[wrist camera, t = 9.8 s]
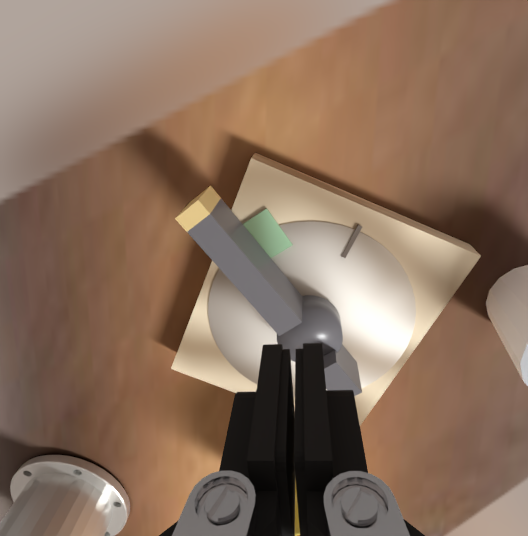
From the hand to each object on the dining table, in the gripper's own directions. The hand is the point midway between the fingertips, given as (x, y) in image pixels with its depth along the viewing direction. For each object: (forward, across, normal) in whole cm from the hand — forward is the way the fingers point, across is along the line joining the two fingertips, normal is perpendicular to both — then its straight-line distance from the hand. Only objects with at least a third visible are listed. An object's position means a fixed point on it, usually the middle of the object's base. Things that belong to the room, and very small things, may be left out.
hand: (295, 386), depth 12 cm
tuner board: (+18, 0, +8) cm, 20 cm away
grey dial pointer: (+16, +2, +5) cm, 17 cm away
